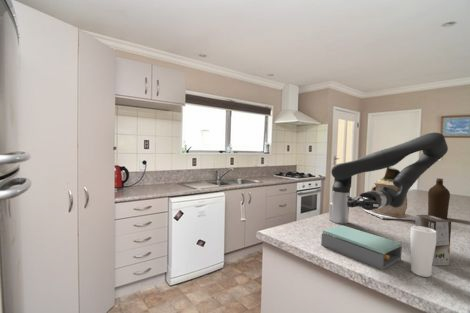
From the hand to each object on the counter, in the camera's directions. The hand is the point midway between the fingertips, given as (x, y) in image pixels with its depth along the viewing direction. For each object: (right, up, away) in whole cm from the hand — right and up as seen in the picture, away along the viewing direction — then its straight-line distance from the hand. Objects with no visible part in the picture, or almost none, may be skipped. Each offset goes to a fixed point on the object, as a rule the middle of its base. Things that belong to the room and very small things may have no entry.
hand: (349, 204), depth 90 cm
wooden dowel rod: (+7, -19, +5) cm, 21 cm away
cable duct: (+6, -20, +5) cm, 22 cm away
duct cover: (+6, -15, +5) cm, 17 cm away
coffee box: (+31, -21, 0) cm, 38 cm away
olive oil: (+86, -21, +63) cm, 109 cm away
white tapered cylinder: (+19, -21, -10) cm, 30 cm away
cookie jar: (+56, -20, +65) cm, 89 cm away
